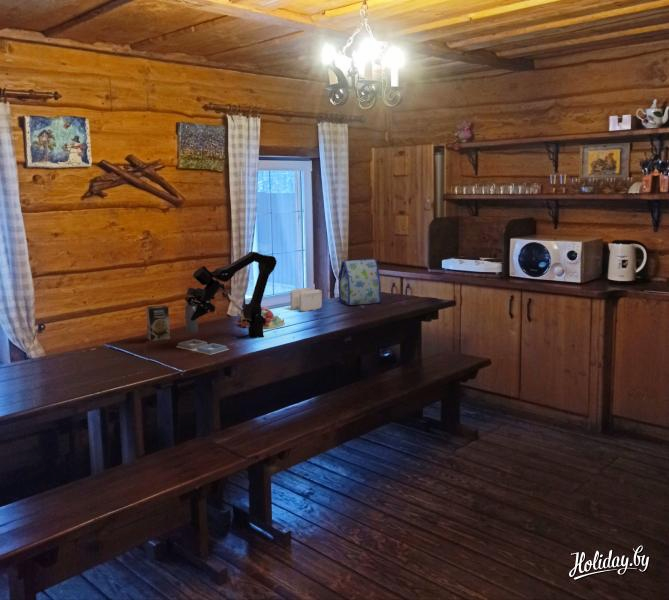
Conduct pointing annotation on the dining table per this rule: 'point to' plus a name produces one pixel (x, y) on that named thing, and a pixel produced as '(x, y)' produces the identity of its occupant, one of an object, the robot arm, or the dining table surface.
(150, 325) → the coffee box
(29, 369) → the dining table surface
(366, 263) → the lunch bag
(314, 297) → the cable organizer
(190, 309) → the grey cylinder
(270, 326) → the candy landscape model
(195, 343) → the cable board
